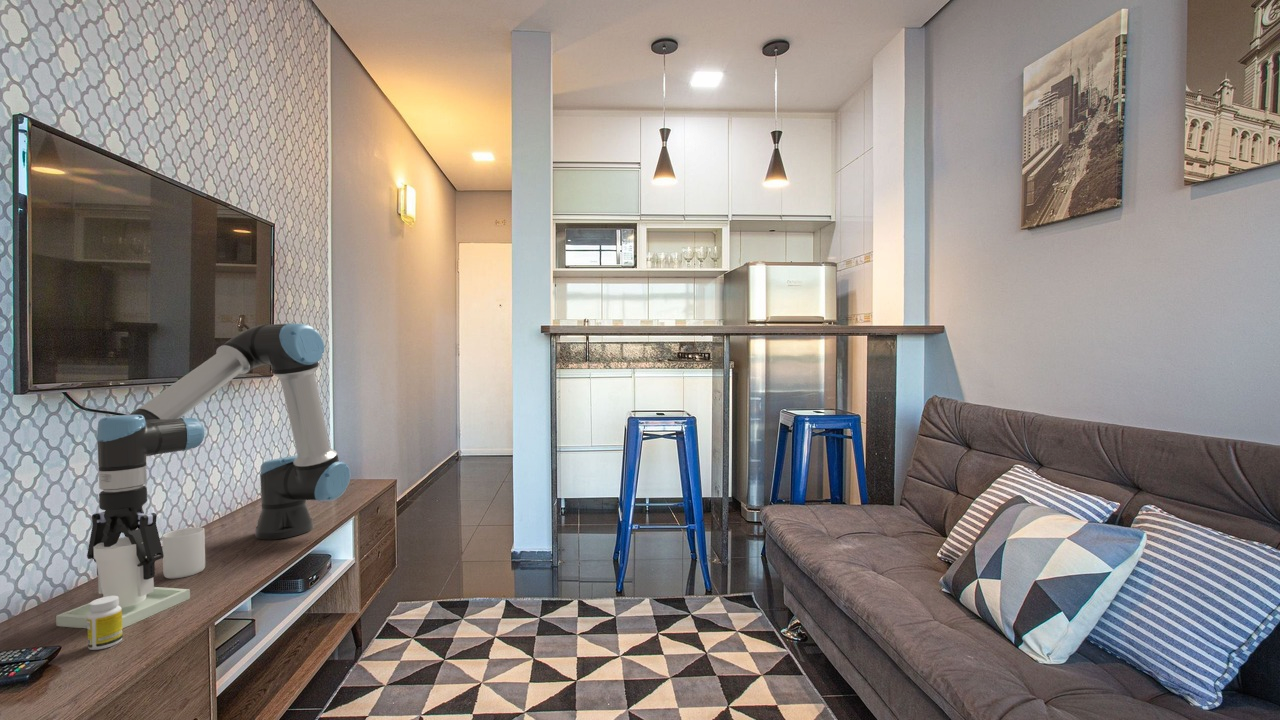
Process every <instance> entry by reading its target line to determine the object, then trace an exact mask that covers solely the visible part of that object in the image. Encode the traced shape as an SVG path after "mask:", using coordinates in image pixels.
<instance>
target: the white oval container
mask: <svg viewBox="0 0 1280 720" xmlns="http://www.w3.org/2000/svg"><path fill="white" fill-rule="evenodd" d="M205 533H206V532H205V528H204V527H197V526H196V527H193V526H192V527H185V528H180V529H175V530H171V531H168V532H166V533H164V534H162V536H161V538H162V539H161V540H162V541H161V542H162V543H161V546H162V550H163V555H164V557H163V558H162V572H163V573H162V575H163V576H164V578H166V579H171V580H172V579H175V580H176V579H181V578H182V579H183V578H187V577H191V576H194V575H197V574H199V573H201V572H202V571H204V570H205V568H206V538H205V537H206V536H205Z"/></svg>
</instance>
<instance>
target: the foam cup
mask: <svg viewBox="0 0 1280 720" xmlns="http://www.w3.org/2000/svg"><path fill="white" fill-rule="evenodd" d="M93 548H94V559H95V560H96V562H95V564H96V570H97V569H98V573H99V578H100V583H101V587H102V592H103V593H102V595H103V596H102V597H107V596H118V597H119V604H118V606H120V607H121V608H124V607H128V606H132V605H135V604H137V603H140V602H142V601H144V600H145V599H146V595H147V594H146V595H144V596H141V597H138V588H137V565H138V564H139V563H140V561H139V559H138V557H137V555H136V544H133V545H132V544H131V542H130V540H129V538H128V537H125V536H122V537H121V536H119V539H118V541H117V543H116V544H114V545H112V546H110V547H104V543H99V544H97V545H96V546H94V547H93ZM146 558H147V556H146ZM94 559H93V560H94Z"/></svg>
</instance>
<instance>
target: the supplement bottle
mask: <svg viewBox="0 0 1280 720" xmlns="http://www.w3.org/2000/svg"><path fill="white" fill-rule="evenodd" d="M89 603H90V609H89V610H90V611H91V612H90V613H89V614H88V616H87V648H88V650H91V651H97V650H104V649H107V648H111V647H113V646H116V645H117V644H119V643H120V642H121V641H122V640H123V635H124V634H123V629H122V608H121V607H120V606H118V604H119V597H118V596H107V597H104V596H102V597H99V598H97V599H93V600H92V601H91V602H89Z"/></svg>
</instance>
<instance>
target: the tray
mask: <svg viewBox="0 0 1280 720" xmlns="http://www.w3.org/2000/svg"><path fill="white" fill-rule="evenodd" d="M190 599H191V589H189V588H175V587H162V586H161V587H160V586H159V587H158V586H154V591H153V592H151V593H149V594H147V595H146V599H145V600H144V601H142V602H140V603H137V604H135V605H132V606H128V607H124V608H122V630H123V629H124V628H127V627H129V626H131V625H134V624H136V623H139V622H140V621H142V620H145V619H147V618H150V617H151V616H154V615H156V614H159V613H161V612H163V611H166V610H167V609H170V608H172V607H174V606H176V605H179V604H182V603H183V602H185V601H188V600H190ZM90 603H91V602H88V603H86V604H83V605H81V606H78V607H75V608H72V609H70V610H67V611H64V612H62V613H60V614H57V615H56V616H55V624H56V625H55V626H56V627H64V628H76V629H78V628H79V629H87V616H88V614H89V613H90V612H91V611H90V610H89V609H90Z"/></svg>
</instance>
